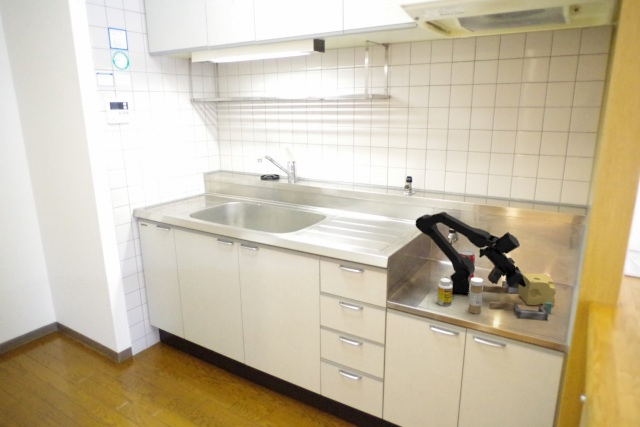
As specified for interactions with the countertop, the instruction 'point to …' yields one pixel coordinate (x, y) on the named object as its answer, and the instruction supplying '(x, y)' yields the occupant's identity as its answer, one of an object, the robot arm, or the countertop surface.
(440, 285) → the supplement bottle
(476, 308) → the sprinkles bottle
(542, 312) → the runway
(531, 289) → the cheese
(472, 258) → the soda can
